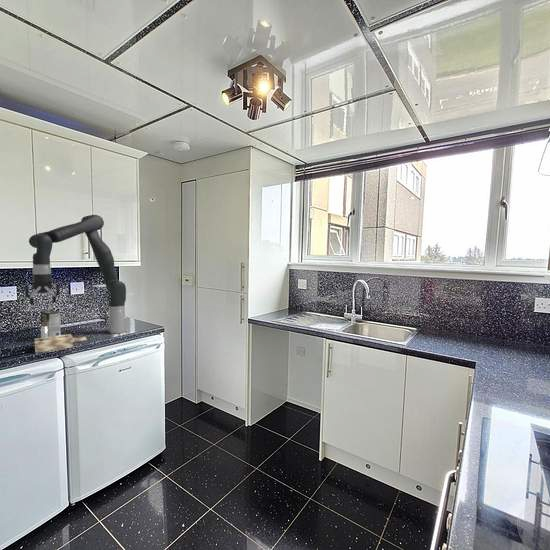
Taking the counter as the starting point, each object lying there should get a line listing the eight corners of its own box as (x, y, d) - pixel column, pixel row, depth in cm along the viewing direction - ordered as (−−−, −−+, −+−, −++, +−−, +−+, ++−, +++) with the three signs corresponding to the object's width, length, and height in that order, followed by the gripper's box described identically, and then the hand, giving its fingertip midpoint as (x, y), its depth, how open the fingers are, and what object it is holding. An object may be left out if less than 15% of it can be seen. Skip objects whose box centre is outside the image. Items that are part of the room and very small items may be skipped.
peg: (48, 347, 161) (47, 325, 160) (48, 348, 158) (48, 326, 158) (41, 348, 159) (40, 326, 158) (41, 350, 157) (40, 327, 156)
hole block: (70, 342, 170) (70, 333, 170) (73, 346, 162) (73, 337, 162) (34, 347, 160) (34, 338, 159) (35, 352, 152) (35, 343, 152)
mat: (85, 337, 181) (85, 336, 181) (87, 340, 176) (87, 339, 176) (69, 339, 176) (69, 338, 176) (70, 342, 170) (70, 341, 170)
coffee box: (40, 338, 176) (39, 311, 175) (53, 336, 182) (52, 309, 181) (49, 341, 172) (48, 313, 171) (61, 338, 178) (60, 311, 177)
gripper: (58, 272, 163) (59, 302, 164) (24, 273, 154) (25, 304, 155) (59, 273, 157) (60, 303, 159) (24, 274, 148) (25, 306, 149)
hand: (43, 304), depth 157 cm, fingers open, 8 cm apart
